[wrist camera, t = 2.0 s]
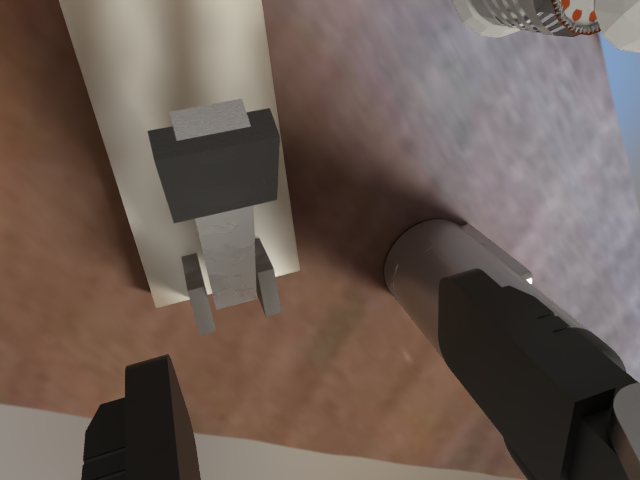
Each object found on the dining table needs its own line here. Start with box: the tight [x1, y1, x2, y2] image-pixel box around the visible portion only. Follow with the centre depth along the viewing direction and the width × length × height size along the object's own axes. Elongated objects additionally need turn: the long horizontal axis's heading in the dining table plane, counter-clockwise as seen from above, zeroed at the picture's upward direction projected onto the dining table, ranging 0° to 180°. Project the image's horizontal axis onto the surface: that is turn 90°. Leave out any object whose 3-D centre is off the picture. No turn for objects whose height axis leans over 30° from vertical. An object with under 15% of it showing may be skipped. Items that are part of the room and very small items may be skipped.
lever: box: [148, 99, 280, 310], centre depth 30 cm, size 5×21×2 cm
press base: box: [59, 0, 300, 335], centre depth 36 cm, size 12×24×7 cm, turn 5°
